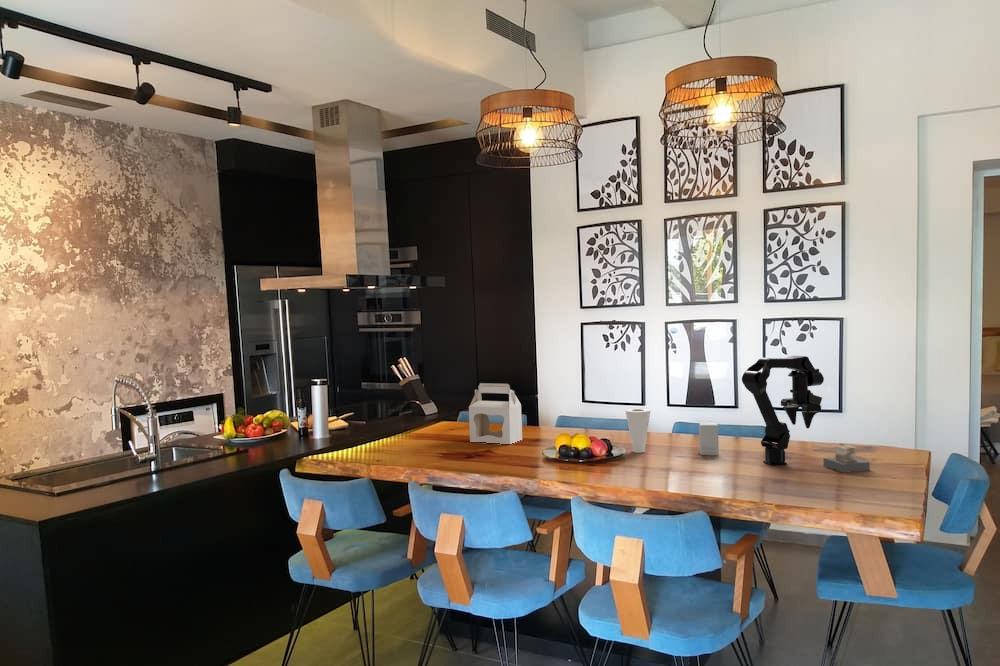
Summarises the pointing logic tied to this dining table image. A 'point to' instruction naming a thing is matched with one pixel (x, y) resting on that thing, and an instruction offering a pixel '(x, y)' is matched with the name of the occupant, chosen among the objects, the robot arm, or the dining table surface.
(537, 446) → the dining table surface
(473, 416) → the gable box
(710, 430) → the supplement box
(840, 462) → the base
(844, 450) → the cube
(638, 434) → the cup
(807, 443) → the dining table surface
